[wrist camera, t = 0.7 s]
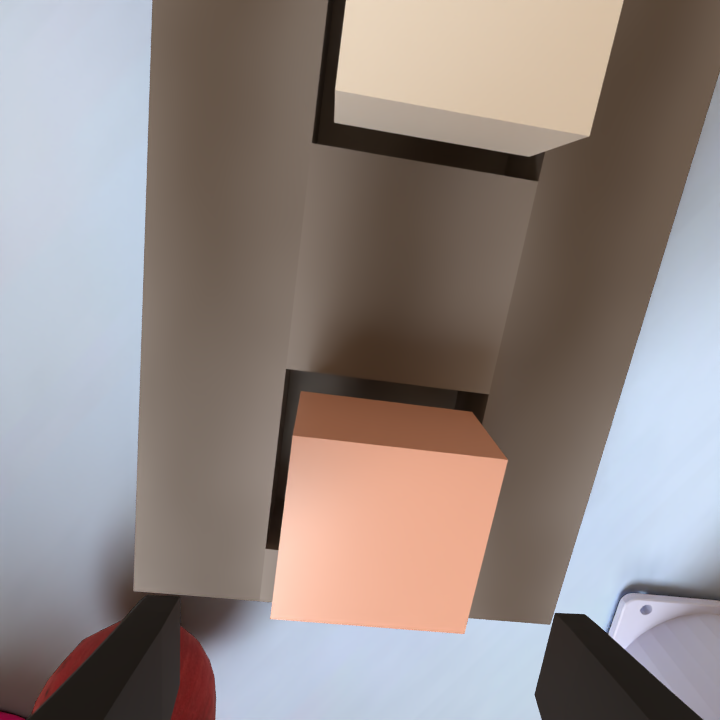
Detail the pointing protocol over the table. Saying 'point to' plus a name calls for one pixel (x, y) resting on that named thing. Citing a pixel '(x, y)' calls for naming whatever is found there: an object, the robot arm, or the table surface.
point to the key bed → (388, 283)
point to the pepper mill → (9, 716)
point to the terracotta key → (385, 514)
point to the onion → (196, 676)
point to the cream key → (476, 69)
